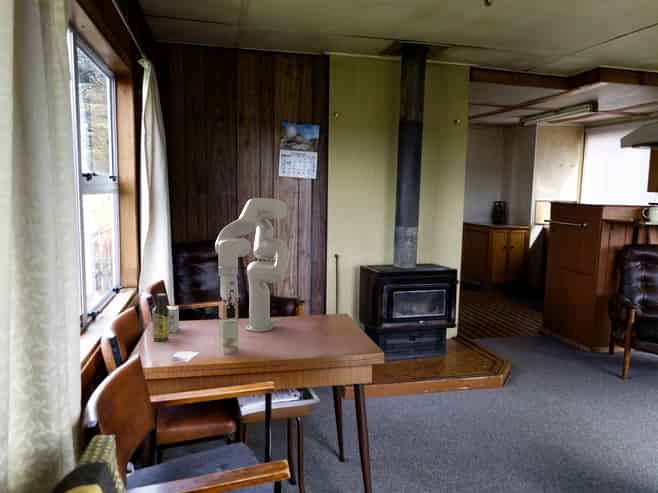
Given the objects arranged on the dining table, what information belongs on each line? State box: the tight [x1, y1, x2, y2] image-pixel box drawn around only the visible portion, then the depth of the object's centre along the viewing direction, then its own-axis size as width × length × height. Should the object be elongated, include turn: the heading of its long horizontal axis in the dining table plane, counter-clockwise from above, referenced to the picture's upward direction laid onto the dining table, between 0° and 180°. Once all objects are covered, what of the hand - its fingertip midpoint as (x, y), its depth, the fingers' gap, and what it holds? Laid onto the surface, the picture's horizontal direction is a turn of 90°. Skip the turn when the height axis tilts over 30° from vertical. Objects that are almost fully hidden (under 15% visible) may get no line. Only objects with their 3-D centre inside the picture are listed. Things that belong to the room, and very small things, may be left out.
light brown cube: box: [218, 301, 239, 320], centre depth 196 cm, size 6×6×6 cm
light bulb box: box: [151, 305, 180, 333], centre depth 225 cm, size 11×7×11 cm, turn 95°
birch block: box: [218, 334, 239, 355], centre depth 198 cm, size 6×6×6 cm
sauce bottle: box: [152, 293, 170, 342], centre depth 210 cm, size 7×6×20 cm
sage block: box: [218, 319, 239, 339], centre depth 197 cm, size 6×6×6 cm
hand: (228, 315), depth 197 cm, fingers closed on light brown cube, 6 cm apart
